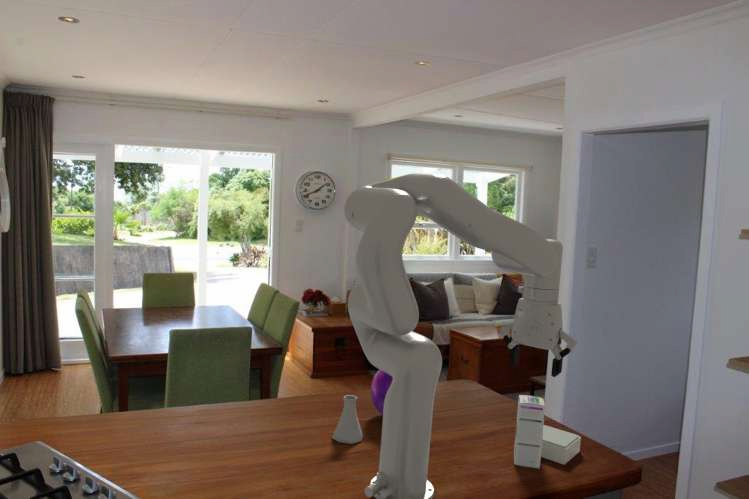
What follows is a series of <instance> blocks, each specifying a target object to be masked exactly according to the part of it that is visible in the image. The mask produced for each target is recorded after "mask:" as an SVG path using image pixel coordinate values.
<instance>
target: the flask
mask: <svg viewBox="0 0 749 499" xmlns="http://www.w3.org/2000/svg"><path fill="white" fill-rule="evenodd" d="M357 400H358V396H356V395H354V394H353V395H352V394H347V395H344V396H343V401H344V402H343V403H344V404H343V409H342V413H341V416H340V418H339V420H338V423H337V425H336V427H335V429H334V432H333V433H332V436H331V439H332V440H335V441H336V442H338V443H341V444H349V445H353V444H356V443H360V442H361V441H362V440H363V438H364V434H363V431H362V427H361V424H360V422H359V418H358V413H357V406H356V404H357V403H356V402H357Z"/></svg>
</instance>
